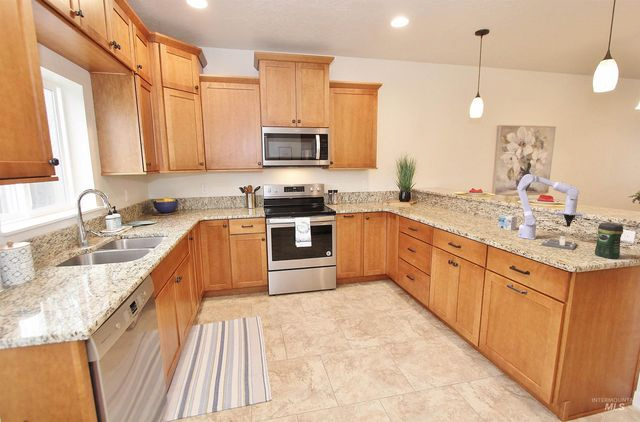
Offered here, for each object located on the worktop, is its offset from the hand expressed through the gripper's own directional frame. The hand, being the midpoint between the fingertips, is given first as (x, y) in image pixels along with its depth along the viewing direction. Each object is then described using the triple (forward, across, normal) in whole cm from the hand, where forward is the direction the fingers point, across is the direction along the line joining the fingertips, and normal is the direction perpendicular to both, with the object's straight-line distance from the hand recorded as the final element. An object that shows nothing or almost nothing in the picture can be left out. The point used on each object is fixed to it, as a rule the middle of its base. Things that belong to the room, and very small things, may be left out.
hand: (568, 226), depth 191 cm
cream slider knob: (+9, -1, -9) cm, 13 cm away
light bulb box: (+11, -39, +19) cm, 45 cm away
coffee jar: (+11, +20, -25) cm, 34 cm away
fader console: (+10, -2, -13) cm, 17 cm away
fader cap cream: (+9, 0, -17) cm, 19 cm away
